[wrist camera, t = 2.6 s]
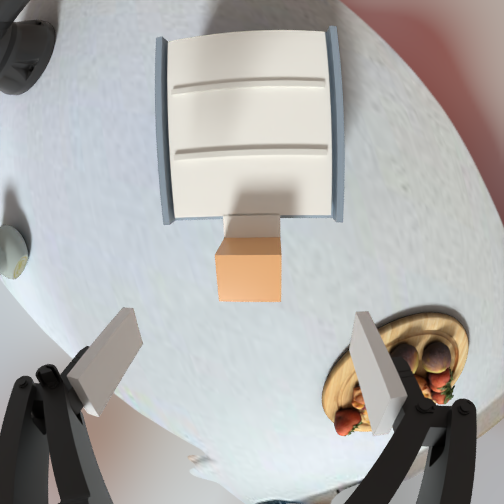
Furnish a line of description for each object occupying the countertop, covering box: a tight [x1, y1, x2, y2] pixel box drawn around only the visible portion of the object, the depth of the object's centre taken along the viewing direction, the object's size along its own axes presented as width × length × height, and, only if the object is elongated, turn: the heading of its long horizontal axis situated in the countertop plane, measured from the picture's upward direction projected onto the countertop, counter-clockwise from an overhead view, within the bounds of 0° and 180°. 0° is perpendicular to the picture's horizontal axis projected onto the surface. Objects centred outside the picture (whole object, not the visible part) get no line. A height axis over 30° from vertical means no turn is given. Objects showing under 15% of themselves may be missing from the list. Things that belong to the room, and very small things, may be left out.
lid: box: [167, 30, 332, 302], centre depth 22 cm, size 23×14×7 cm, turn 2°
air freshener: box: [0, 225, 28, 279], centre depth 38 cm, size 11×8×10 cm
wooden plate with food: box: [322, 312, 469, 436], centre depth 43 cm, size 32×32×8 cm
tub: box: [155, 26, 345, 225], centre depth 27 cm, size 18×16×13 cm
